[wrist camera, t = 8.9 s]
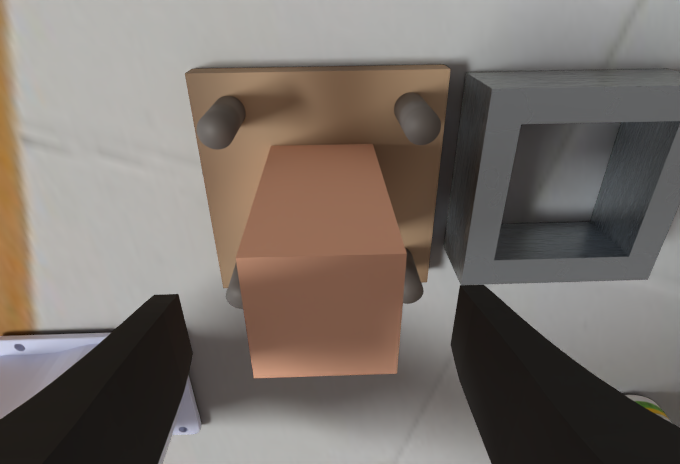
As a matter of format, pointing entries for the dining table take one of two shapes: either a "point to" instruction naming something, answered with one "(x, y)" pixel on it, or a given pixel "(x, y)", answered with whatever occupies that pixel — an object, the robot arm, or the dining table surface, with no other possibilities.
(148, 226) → the dining table surface
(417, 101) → the board
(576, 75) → the socket collar
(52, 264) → the dining table surface
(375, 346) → the pin
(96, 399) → the robot arm
